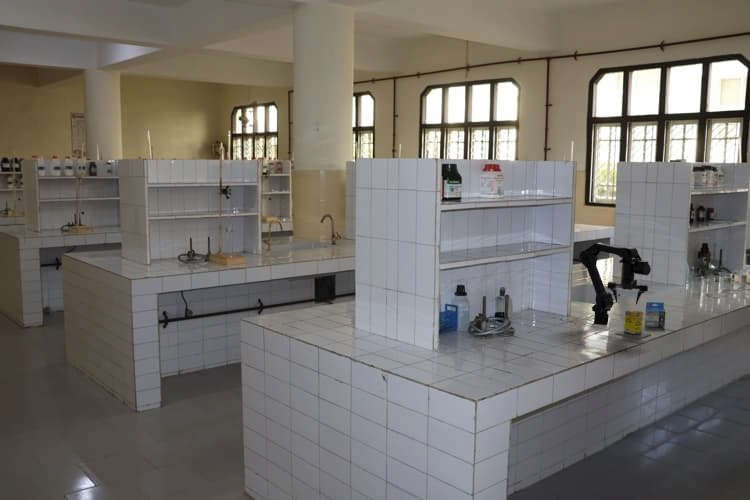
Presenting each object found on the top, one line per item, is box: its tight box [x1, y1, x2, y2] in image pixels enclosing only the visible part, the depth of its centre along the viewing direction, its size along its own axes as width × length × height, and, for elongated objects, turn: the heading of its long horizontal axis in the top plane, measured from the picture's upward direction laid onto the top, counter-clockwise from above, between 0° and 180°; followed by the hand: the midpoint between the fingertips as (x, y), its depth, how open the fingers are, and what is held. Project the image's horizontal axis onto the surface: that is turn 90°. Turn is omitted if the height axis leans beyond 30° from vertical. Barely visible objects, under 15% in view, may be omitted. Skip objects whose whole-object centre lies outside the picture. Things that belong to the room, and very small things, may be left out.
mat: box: [614, 330, 652, 340], centre depth 325 cm, size 12×12×1 cm
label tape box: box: [644, 301, 666, 328], centre depth 342 cm, size 9×4×12 cm, turn 82°
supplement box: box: [623, 309, 644, 335], centre depth 324 cm, size 6×6×11 cm
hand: (626, 303), depth 335 cm, fingers open, 9 cm apart
